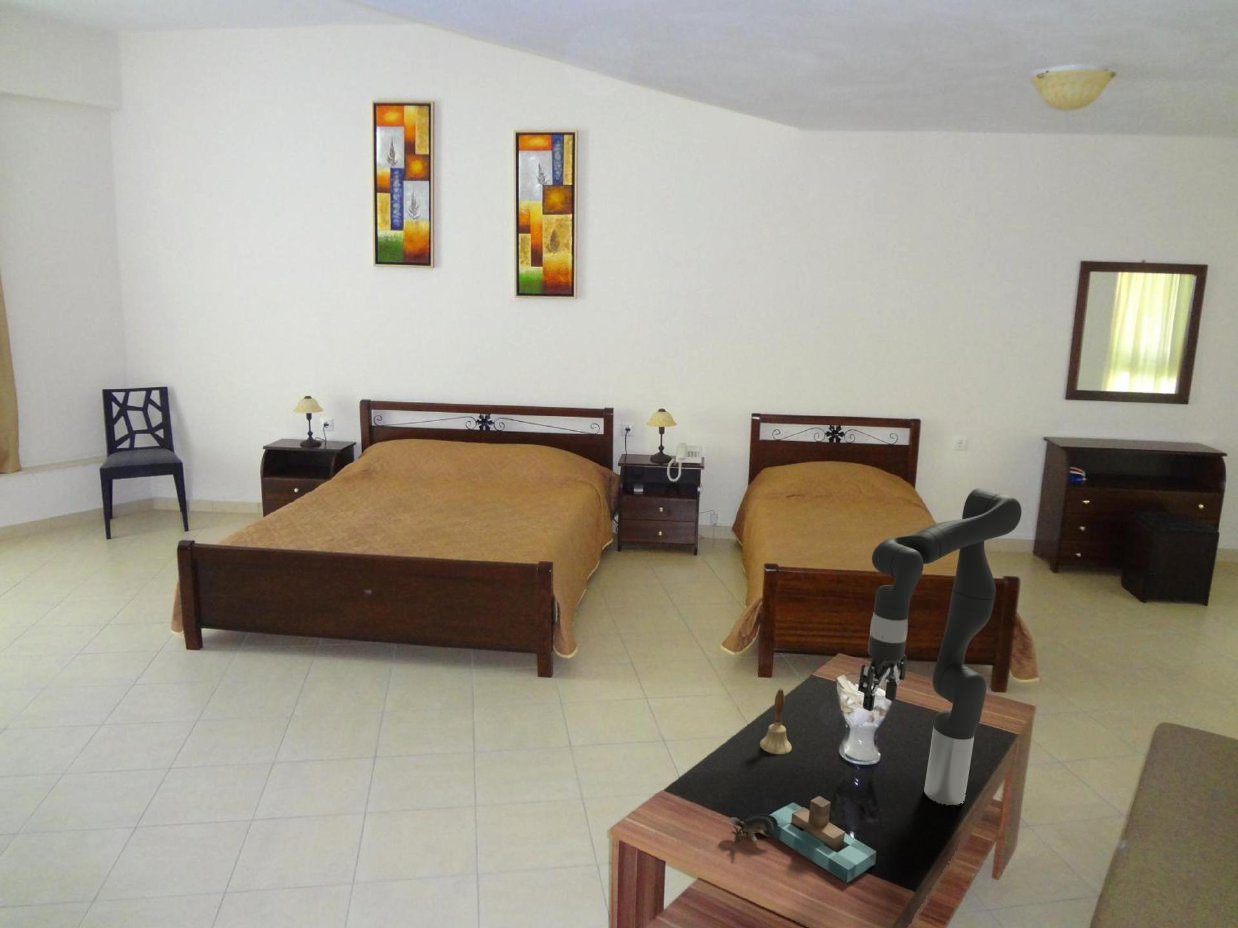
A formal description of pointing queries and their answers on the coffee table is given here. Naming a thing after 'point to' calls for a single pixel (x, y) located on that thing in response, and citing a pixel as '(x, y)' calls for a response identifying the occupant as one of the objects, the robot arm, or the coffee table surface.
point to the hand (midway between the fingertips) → (879, 704)
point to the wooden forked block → (819, 823)
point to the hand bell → (777, 730)
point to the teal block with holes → (823, 847)
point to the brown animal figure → (754, 826)
